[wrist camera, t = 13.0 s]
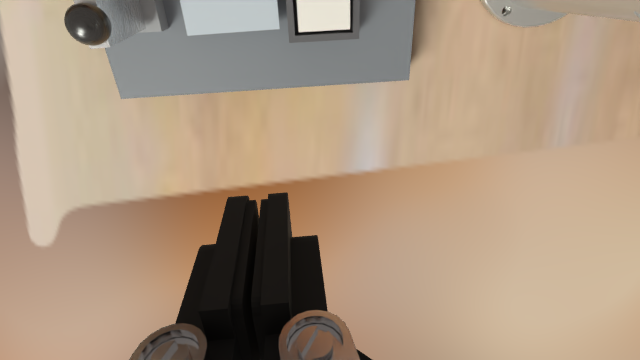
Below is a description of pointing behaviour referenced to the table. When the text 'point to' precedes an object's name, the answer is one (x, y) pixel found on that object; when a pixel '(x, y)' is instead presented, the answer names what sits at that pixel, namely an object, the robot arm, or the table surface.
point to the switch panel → (263, 52)
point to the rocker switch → (229, 16)
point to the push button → (323, 15)
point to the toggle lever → (104, 21)
